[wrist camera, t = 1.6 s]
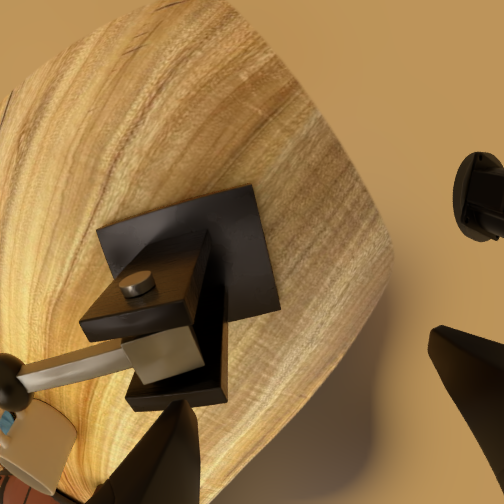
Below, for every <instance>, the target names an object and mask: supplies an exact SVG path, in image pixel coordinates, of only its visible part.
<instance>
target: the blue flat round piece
mask: <svg viewBox="0 0 504 504" xmlns="http://www.w3.org/2000/svg"><path fill="white" fill-rule="evenodd" d="M13 423H14V417H13V416H12V414H10V413H9V411H5V412H4V413H3V415H2V417H1V419H0V429H1V430H2V432H3V433H4V434H5V435H7V433H8V431H9V430H10V428H11V426H12V424H13Z"/></svg>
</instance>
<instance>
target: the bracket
mask: <svg viewBox="0 0 504 504" xmlns="http://www.w3.org/2000/svg"><path fill="white" fill-rule="evenodd" d="M96 232H97V235H98V238H99V241H100V244H101V247H102V249H103V252H104V255H105V258H106V260H107V263H108V265H109V268H110V271H111V273H112V276H113V278H114V280H113V282H112V283H111V284H110V285H109V286H108V287H107V288H106V290H105V291H104V292H103V293H102V294H101V295H100V296H99V298H98V299H97V300H96V301H95V302H94V304H93V305H92V306H91V307H90V308H89V310H88V311H87V312H86V313H85V314H84V316H83V317H82V318H81V319H80V320H79V324H80V326H81V328H82V329H83V331H84V333H85V335H86V337H87V339H88V341H89V342H98V341H105V340H111V339H118V338H124V337H130V336H136V335H142V334H148V333H153V332H159V331H164V330H169V329H175V328H180V327H185V326H190V325H192V327H193V329H194V332H195V334H196V336H197V340H198V343H199V346H200V350H201V353H202V356H203V359H204V363H205V366H203V367H200V368H197V369H194V370H191V371H188V372H185V373H182V374H179V375H176V376H172V377H169V378H166V379H163V380H159V381H156V382H153V383H149V384H146V385H144V384H143V383H142V381H141V380H140V378H139V376H138V375H137V373H136V371H135V372H134V375H133V377H132V380H131V382H130V385H129V388H128V390H127V393H126V396H125V399H126V401H127V402H128V404H129V405H130V406H131V408H132V409H133V410H134V411H135V412H146V411H162V410H165V409H166V407H167V406H168V405H169V404H170V402H171V401H173V400H178V399H185V400H187V402H188V403H189V405H190V406H191V408H193V407H201V406H209V405H216V404H222V403H227V402H228V322H232V321H236V320H241V319H245V318H249V317H254V316H258V315H262V314H266V313H270V312H274V311H278V310H281V306H280V302H279V298H278V293H277V289H276V284H275V280H274V276H273V271H272V267H271V263H270V258H269V254H268V250H267V245H266V241H265V237H264V233H263V229H262V224H261V220H260V216H259V212H258V208H257V203H256V199H255V195H254V191H253V187H252V184H251V183H247V184H243V185H239V186H235V187H231V188H227V189H223V190H220V191H216V192H212V193H208V194H205V195H201V196H197V197H194V198H190V199H187V200H183V201H180V202H176V203H173V204H170V205H166V206H163V207H160V208H156V209H153V210H150V211H147V212H144V213H140V214H137V215H134V216H131V217H128V218H125V219H122V220H119V221H116V222H113V223H110V224H107V225H105V226H102V227H100V228H99V229H97V230H96Z"/></svg>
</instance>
